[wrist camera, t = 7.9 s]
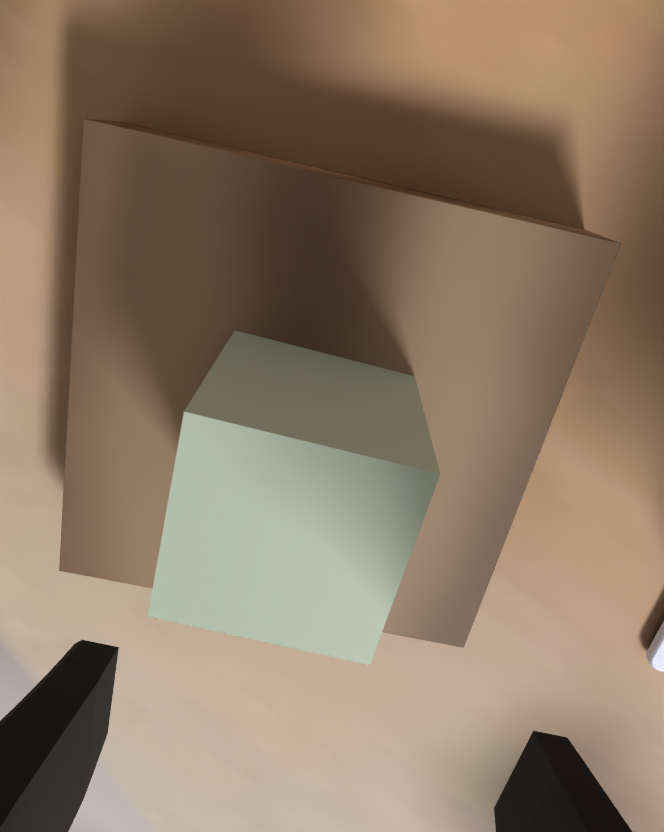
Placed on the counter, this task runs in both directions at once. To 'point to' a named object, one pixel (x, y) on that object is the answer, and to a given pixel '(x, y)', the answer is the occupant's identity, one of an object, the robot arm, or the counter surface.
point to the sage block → (294, 499)
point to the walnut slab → (312, 338)
